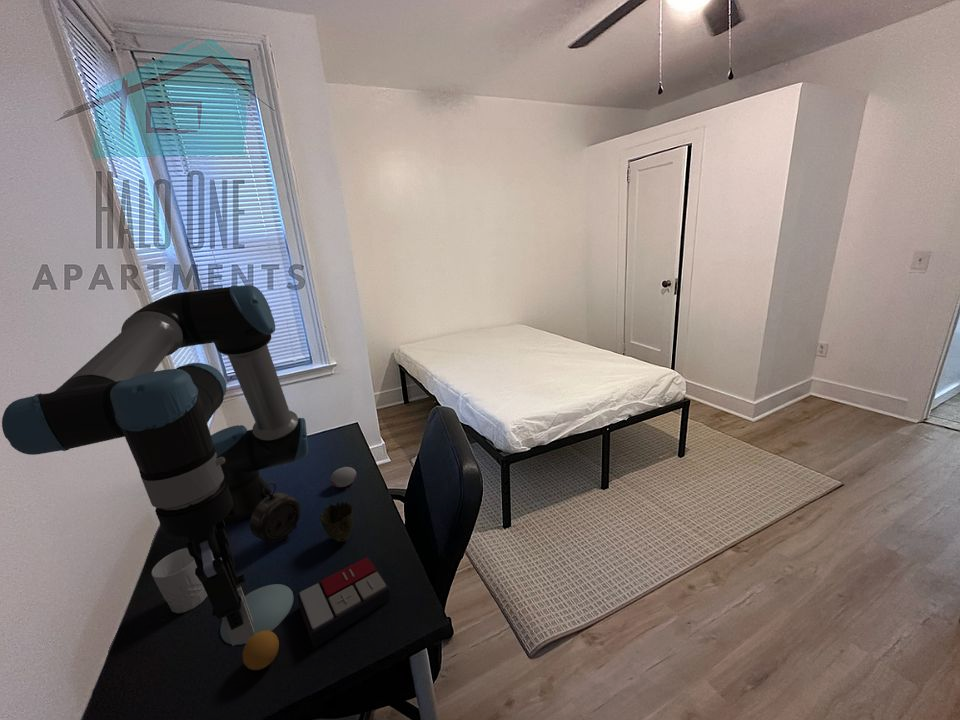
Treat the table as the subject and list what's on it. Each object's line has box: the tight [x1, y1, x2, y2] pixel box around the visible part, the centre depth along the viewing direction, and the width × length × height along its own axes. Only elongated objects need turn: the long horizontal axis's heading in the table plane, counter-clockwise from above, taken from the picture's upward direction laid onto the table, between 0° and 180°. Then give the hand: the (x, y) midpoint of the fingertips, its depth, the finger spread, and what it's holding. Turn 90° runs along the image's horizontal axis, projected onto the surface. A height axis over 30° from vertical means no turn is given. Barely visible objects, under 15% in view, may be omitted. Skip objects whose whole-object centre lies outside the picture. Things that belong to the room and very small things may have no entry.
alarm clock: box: [249, 481, 301, 551], centre depth 95 cm, size 11×5×16 cm, turn 150°
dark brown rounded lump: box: [319, 501, 354, 544], centre depth 95 cm, size 8×7×8 cm
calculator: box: [296, 557, 392, 648], centre depth 78 cm, size 11×4×15 cm
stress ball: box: [329, 466, 358, 491], centre depth 118 cm, size 8×8×7 cm
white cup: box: [150, 547, 208, 614], centre depth 81 cm, size 8×8×10 cm
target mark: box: [219, 583, 294, 646], centre depth 78 cm, size 13×13×1 cm
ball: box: [242, 630, 280, 671], centre depth 67 cm, size 6×6×6 cm
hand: (243, 632), depth 56 cm, fingers closed
